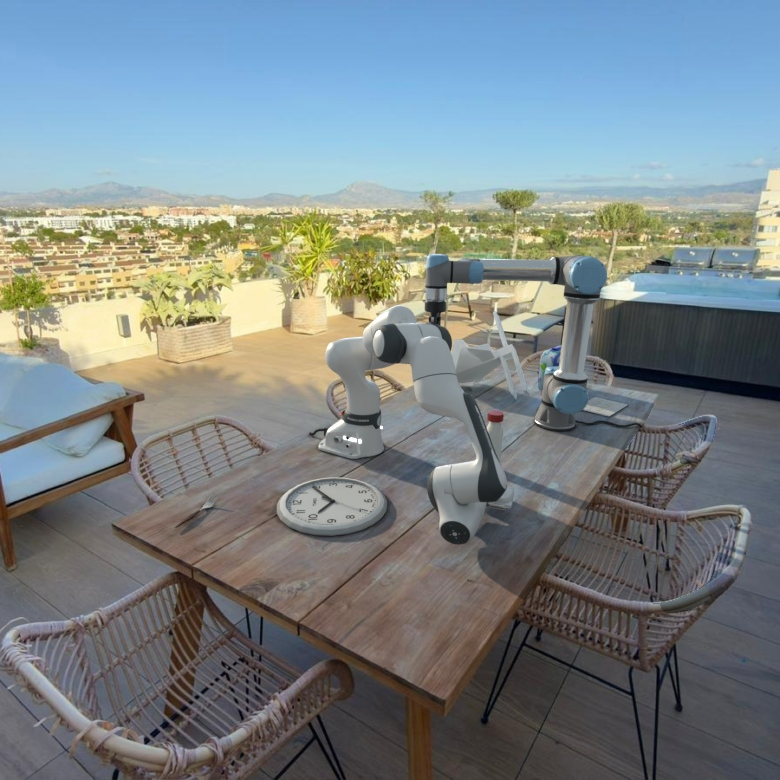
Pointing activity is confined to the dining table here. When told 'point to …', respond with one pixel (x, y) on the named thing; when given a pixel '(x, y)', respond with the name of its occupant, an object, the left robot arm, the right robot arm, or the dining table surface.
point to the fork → (206, 505)
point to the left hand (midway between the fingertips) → (480, 478)
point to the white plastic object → (486, 360)
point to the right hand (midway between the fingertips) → (433, 359)
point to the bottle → (496, 437)
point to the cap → (495, 416)
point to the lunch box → (548, 363)
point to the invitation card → (603, 406)
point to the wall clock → (331, 506)
